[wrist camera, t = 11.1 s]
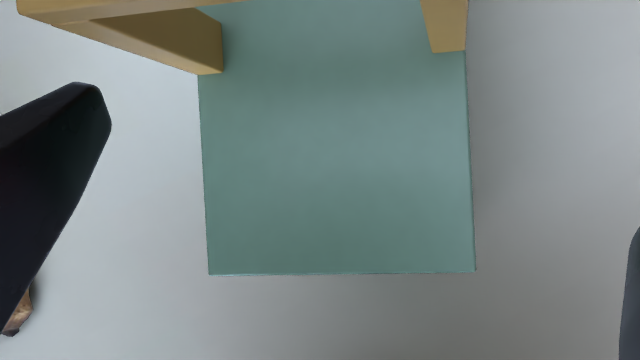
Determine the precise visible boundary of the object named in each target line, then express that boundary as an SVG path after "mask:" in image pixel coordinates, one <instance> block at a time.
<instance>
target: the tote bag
mask: <svg viewBox="0 0 640 360" xmlns="http://www.w3.org/2000/svg"><path fill="white" fill-rule="evenodd" d="M468 2H469V0H16V4H17V11H18V13H19V14H20V15H23V16H26V17H29V18H32V19H35V20H38V21H41V22H44V23H47V24H51V25H52V26H54V27H57V28H60V29H63V30H66V31H69V32H72V33H75V34H78V35H81V36H83V37H86V38H89V39H92V40H95V41H98V42H101V43H104V44H107V45H110V46H113V47H116V48H119V49H122V50H125V51H128V52H131V53H134V54H137V55H140V56H143V57H146V58H149V59H152V60H155V61H158V62H161V63H163V64H166V65H169V66H172V67H175V68H178V69H181V70H184V71H187V72H190V73H193V74H196V75H198V93H199V111H200V129H201V147H202V164H203V182H204V200H205V218H206V236H207V253H208V271H209V275H210V276H258V275H328V274H398V273H467V272H476V251H475V230H474V210H473V190H472V170H471V149H470V129H469V109H468V88H467V68H466V33H467V18H468Z"/></svg>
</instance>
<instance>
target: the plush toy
mask: <svg viewBox="0 0 640 360" xmlns="http://www.w3.org/2000/svg"><path fill="white" fill-rule="evenodd" d="M32 311H33V307H32V303H31V300H30V297H29V288H28V289H27V291H26V292H25V294H24V296H23V297H22V299H21V301H20V302H19V304H18V306H17V307H16V309H15V311H14V313H13V314H12V316H11V318H10V319H9V321H8V323H7V324H6V326H5V328H4V329H3V331H2V333H1V334H3V335H6V336H9V337H13V336H14V335H15V334H17V333H18V332H19V327H20V326H21V325H22V323H23V322H24V321H25V320H26V319H27V318H28V317H29V315H30V314H31V312H32Z"/></svg>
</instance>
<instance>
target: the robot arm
mask: <svg viewBox="0 0 640 360" xmlns="http://www.w3.org/2000/svg"><path fill="white" fill-rule="evenodd" d="M111 126H112V124H111V118H110V115H109V113H108V110H107V107H106V104H105V101H104V99H103V96H102V93H101V91H100V89H99V88H98V87H97V86H95V85H91V84H86V83H81V82H72V83H69V84H67V85H65V86H63V87H61V88H59V89H57V90H55V91H52V92H50V93H48V94H46V95H44V96H42V97H40V98H38V99H35V100H33V101H31V102H29V103H27V104H25V105H23V106H21V107H18V108H16V109H14V110H12V111H10V112H8V113H6V114H4V115H1V116H0V334H1V333H2V331H3V329H4V328H5V326H6V324H7V323H8V321H9V319H10V318H11V316H12V314H13V313H14V311H15V309H16V307H17V306H18V304H19V302H20V301H21V299H22V297H23V296H24V294H25V292H26V291H27V289H28V287H29V286H30V284H31V282H32V281H33V279H34V277H35V276H36V274H37V272H38V271H39V269H40V267H41V266H42V264H43V262H44V260H45V259H46V257H47V255H48V254H49V252H50V250H51V249H52V247H53V245H54V244H55V242H56V240H57V239H58V237H59V235H60V234H61V232H62V230H63V229H64V227H65V225H66V224H67V222H68V220H69V219H70V217H71V215H72V213H73V212H74V210H75V208H76V206H77V204H78V202H79V200H80V198H81V196H82V194H83V192H84V190H85V188H86V186H87V184H88V181H89V179H90V177H91V175H92V173H93V170H94V168H95V166H96V164H97V162H98V159H99V157H100V155H101V153H102V151H103V148H104V146H105V144H106V142H107V140H108V137H109V135H110V132H111ZM619 360H640V227H639V228H638V230H637V231H636V233H635V235H634V237H633V239H632V241H631V244H630V248H629V255H628V264H627V273H626V282H625V291H624V300H623V309H622V318H621V327H620V338H619Z"/></svg>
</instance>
